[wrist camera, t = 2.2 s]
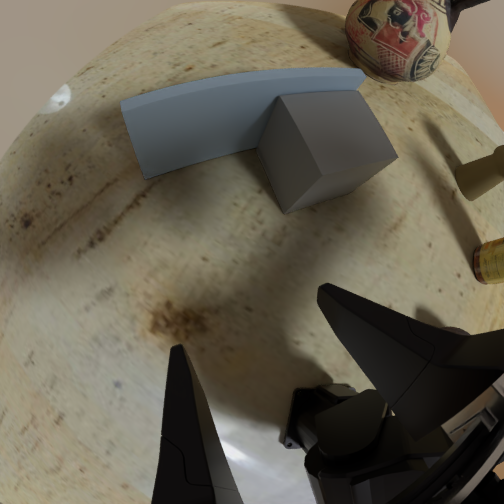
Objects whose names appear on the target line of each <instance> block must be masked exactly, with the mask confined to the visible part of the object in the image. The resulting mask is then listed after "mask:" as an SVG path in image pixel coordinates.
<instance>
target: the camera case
mask: <svg viewBox="0 0 504 504" xmlns="http://www.w3.org/2000/svg"><path fill="white" fill-rule="evenodd" d="M256 152H257V155H258V157H259V159H260V161H261V163H262V166H263V168H264V170H265V172H266V174H267V177H268V179H269V181H270V183H271V186H272V188H273V190H274V193H275V195H276V197H277V199H278V202H279V204H280V206H281V209H282V211H283V213H284V214H287V213H290V212H293V211H296V210H299V209H302V208H305V207H308V206H311V205H314V204H317V203H320V202H324V201H327V200H330V199H333V198H336V197H339V196H343V195H346V194H349V193H351V192H352V191H354V190H355V189H356V188H358V187H359V186H360V185H362V184H363V183H365V182H366V181H367V180H369V179H370V178H371V177H373V176H374V175H375V174H377V173H378V172H380V171H381V170H382V169H384V168H385V167H386V166H388V165H389V164H390V163H392V162H393V161H395V160H396V159H397V158H399V157H398V155H397V154H396V152H395V150H394V148H393V146H392V144H391V142H390V141H389V139H388V137H387V135H386V134H385V132H384V130H383V129H382V127H381V125H380V123H379V122H378V120H377V119H376V117H375V115H374V114H373V112H372V111H371V109H370V107H369V106H368V104H367V103H366V101H365V100H364V98H363V97H362V95H361V94H360V92H359V91H328V92H312V93H300V94H290V95H281V96H279V98H278V100H277V103H276V105H275V107H274V109H273V112H272V114H271V116H270V119H269V121H268V123H267V126H266V128H265V130H264V133H263V135H262V137H261V140H260V142H259V144H258V147H257V149H256Z"/></svg>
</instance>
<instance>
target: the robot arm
mask: <svg viewBox="0 0 504 504" xmlns="http://www.w3.org/2000/svg"><path fill="white" fill-rule="evenodd" d="M317 304H318V306H319V308H320V309H321V311H322V313H323V314H324V316H325V318H326V320H327V321H328V323H329V325H330V326H331V328H332V330H333V331H334V333H335V335H336V336H337V337H338V339H339V340H340V342H341V343H342V344H343V345H344V347H345V348H346V349H347V351H348V352H349V353H350V355H351V356H352V357H353V359H354V360H355V361H356V363H357V364H358V365H359V367H360V368H361V369H362V371H363V372H364V373H365V375H366V376H367V377H368V379H369V380H370V381H371V383H372V384H373V385H374V387H375V388H376V389H377V390H373V389H367V390H364V391H363V392H361V393H358V392H356V390H355V389H354V388H352V387H345V386H343V385H318V386H317V387H316V388H297V389H295V390H294V393H293V398H292V403H291V409H290V414H289V419H288V424H287V429H286V434H285V438H284V443H283V444H284V446H285V448H287V449H298V448H302V449H303V450H304V451H305V453H306V456H305V462H304V466H305V469H306V472H307V475H308V478H309V481H310V485H311V488H312V491H313V494H314V497H315V500H316V503H317V504H504V479H502V480H500V479H499V477H498V476H497V475H496V473H495V472H493V469H494V468H495V467H496V465H498V464H500V463H502V462H503V461H504V329H500V330H496V331H491V332H486V333H481V334H476V335H461V334H457V333H454V332H451V331H447V330H444V329H441V328H438V327H435V326H432V325H429V324H426V323H423V322H421V321H418V320H416V319H413V318H411V317H408V316H405V315H404V314H401V313H399V312H396V311H394V310H392V309H389V308H387V307H385V306H382V305H380V304H378V303H375V302H373V301H371V300H368V299H366V298H363V297H361V296H359V295H356V294H354V293H352V292H349V291H347V290H345V289H342V288H340V287H337V286H335V285H333V284H330V283H325V284H323V285H321V286H319V287H318V293H317ZM300 391H301V394H300V395H297V394H298V392H300ZM391 410H392V411H393V412H394V414H395V416H392V411H391ZM161 435H162V436H161V441H160V453H159V462H158V468H157V474H156V479H155V485H154V490H153V496H152V501H151V504H244V503H243V501H242V498H241V496H240V493H239V492H238V489H237V486H236V483H235V481H234V478H233V476H232V473H231V470H230V468H229V465H228V462H227V460H226V457H225V454H224V451H223V448H222V445H221V443H220V440H219V437H218V434H217V431H216V428H215V425H214V421H213V418H212V415H211V412H210V409H209V405H208V402H207V399H206V396H205V393H204V391H203V389H202V386H201V384H200V382H199V379H198V377H197V374H196V372H195V370H194V367H193V365H192V362H191V360H190V358H189V356H188V354H187V352H186V350H185V348H184V346H183V345H182V344H178V345H175V346H172V347H171V349H170V356H169V364H168V372H167V380H166V389H165V398H164V407H163V418H162V430H161ZM288 443H291V444H290V445H287V444H288Z"/></svg>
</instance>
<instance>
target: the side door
mask: <svg viewBox="0 0 504 504" xmlns="http://www.w3.org/2000/svg"><path fill="white" fill-rule="evenodd" d="M365 78H366V75H365V74H364V73H363V71H362V70H361V69H356V68H288V69H273V70H262V71H252V72H244V73H237V74H230V75H223V76H217V77H212V78H206V79H201V80H196V81H191V82H187V83H182V84H178V85H174V86H170V87H166V88H162V89H158V90H155V91H151V92H148V93H144V94H141V95H138V96H135V97H131V98H128V99H125V100H122V101H120V105H121V110H122V114H123V117H124V121H125V124H126V127H127V130H128V133H129V136H130V139H131V142H132V145H133V148H134V151H135V154H136V157H137V159H138V162H139V165H140V168H141V171H142V173H143V176H144V179H145V180H146V179H149V178H152V177H155V176H157V175H160V174H163V173H167V172H170V171H173V170H176V169H179V168H182V167H185V166H189V165H192V164H195V163H199V162H202V161H206V160H209V159H213V158H217V157H220V156H224V155H228V154H232V153H236V152H240V151H244V150H248V149H252V148H256V147H258V144H259V142H260V140H261V137H262V135H263V133H264V130H265V128H266V126H267V123H268V121H269V119H270V116H271V114H272V112H273V109H274V107H275V105H276V103H277V100H278V98H279V96H281V95H290V94H300V93H312V92H328V91H356V90H357V89H358V87H359V86H360V85H361V83H362V82H363V81H364V80H365Z"/></svg>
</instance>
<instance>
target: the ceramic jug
mask: <svg viewBox="0 0 504 504" xmlns="http://www.w3.org/2000/svg"><path fill="white" fill-rule="evenodd" d="M487 1H489V0H357V1H355V2H354V3H353V5H352V6H351V8H350V9H349V12H348V14H347V17H346V22H345V33H346V36H347V39H348V43H349V46H350V48H349V51H348V54H349V56H350V58H351V60H352V61H353V63H354V64H355V65H356V66H357V67H358V68H359V69H361V70H362V71H363V72H364V73H365V74H367V75H368V76H370V77H371V78H373V79H375V80H377V81H380V82H382V83H386V84H392V85H396V84H397V83H398V82H401V81H405V82H415V81H419V80H423V79H425V78H427V77H429V76H430V75H431V74H433V73H434V72H435V71H436V70H437V69H438V67H439V66H440V65H441V63H442V61H443V60H444V58H445V56H446V53H447V51H448V47H449V43H450V39H451V32H452V30H453V28H454V26H455V24H456V22H457V20H458V17H459V14H460V11H462V10H464V9H467V8H470V7H473V6H475V5H478V4H480V3H484V2H487Z"/></svg>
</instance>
